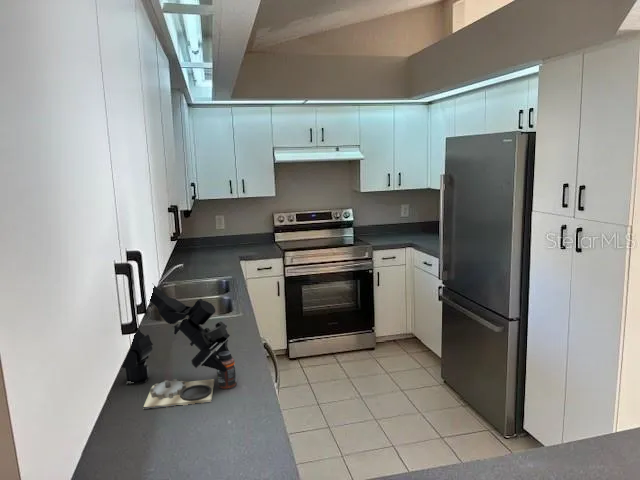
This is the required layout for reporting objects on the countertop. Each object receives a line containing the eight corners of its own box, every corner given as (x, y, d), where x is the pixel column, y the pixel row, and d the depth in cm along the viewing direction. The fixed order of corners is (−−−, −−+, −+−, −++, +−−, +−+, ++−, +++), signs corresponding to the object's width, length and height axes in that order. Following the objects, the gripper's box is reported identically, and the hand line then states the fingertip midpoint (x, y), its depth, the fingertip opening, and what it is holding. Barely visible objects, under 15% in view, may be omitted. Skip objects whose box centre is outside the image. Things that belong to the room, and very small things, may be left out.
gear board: (143, 409, 145) (142, 397, 145) (152, 388, 159) (151, 377, 159) (211, 402, 148) (210, 390, 147) (214, 381, 162) (213, 370, 162)
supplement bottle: (239, 382, 161) (237, 350, 159) (231, 390, 155) (229, 357, 154) (223, 380, 163) (220, 349, 161) (214, 389, 157) (212, 356, 155)
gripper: (197, 327, 147) (234, 362, 146) (222, 308, 165) (254, 340, 164) (176, 350, 150) (212, 385, 149) (203, 330, 168) (235, 361, 167)
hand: (229, 366), depth 158 cm, fingers closed on supplement bottle, 6 cm apart
